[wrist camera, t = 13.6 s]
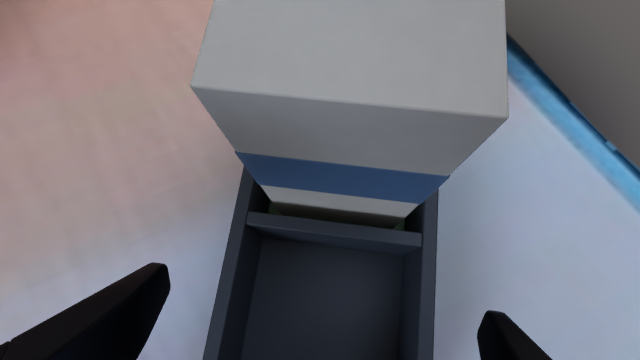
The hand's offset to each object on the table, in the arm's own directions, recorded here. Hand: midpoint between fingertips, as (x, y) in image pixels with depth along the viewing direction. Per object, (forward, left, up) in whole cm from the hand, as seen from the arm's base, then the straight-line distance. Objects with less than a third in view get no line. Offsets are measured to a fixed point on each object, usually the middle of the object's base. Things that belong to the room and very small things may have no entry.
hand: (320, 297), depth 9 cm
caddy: (+2, -2, -9) cm, 9 cm away
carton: (+4, -5, -8) cm, 10 cm away
